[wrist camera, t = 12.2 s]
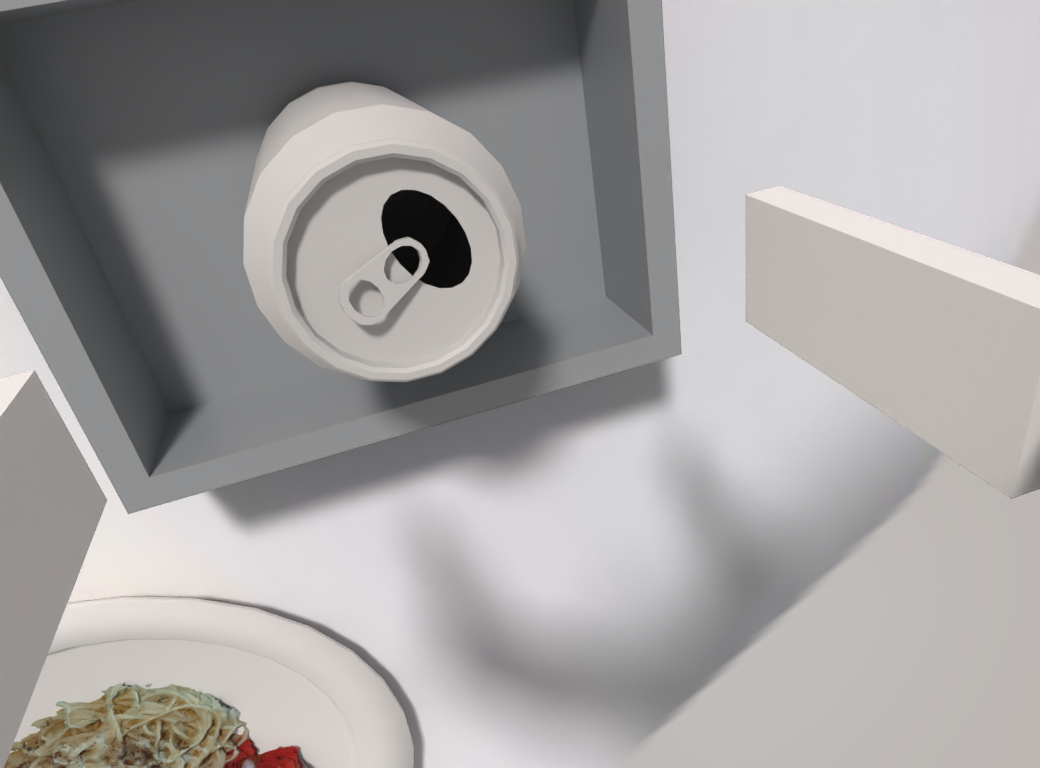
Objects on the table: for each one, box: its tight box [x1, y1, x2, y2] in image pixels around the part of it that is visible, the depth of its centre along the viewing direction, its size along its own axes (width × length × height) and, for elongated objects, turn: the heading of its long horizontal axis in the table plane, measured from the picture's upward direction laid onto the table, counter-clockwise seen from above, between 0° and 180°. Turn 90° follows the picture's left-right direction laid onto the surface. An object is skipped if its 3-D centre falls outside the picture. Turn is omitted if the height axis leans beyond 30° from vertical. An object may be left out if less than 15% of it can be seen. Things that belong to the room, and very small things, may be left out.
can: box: [243, 81, 526, 382], centre depth 23 cm, size 8×8×12 cm
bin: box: [0, 0, 682, 514], centre depth 26 cm, size 22×17×6 cm
